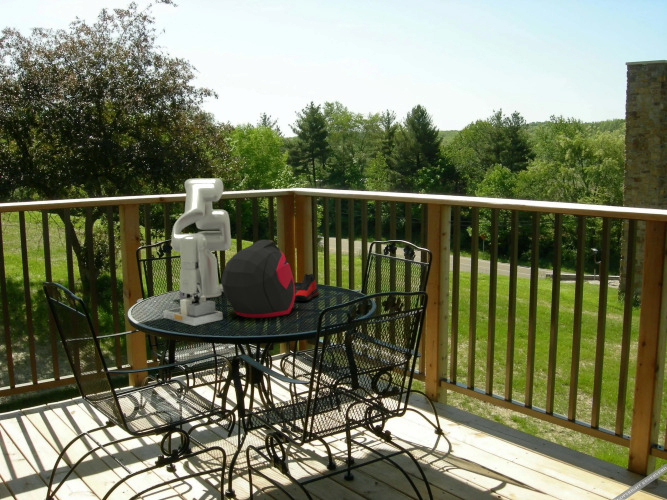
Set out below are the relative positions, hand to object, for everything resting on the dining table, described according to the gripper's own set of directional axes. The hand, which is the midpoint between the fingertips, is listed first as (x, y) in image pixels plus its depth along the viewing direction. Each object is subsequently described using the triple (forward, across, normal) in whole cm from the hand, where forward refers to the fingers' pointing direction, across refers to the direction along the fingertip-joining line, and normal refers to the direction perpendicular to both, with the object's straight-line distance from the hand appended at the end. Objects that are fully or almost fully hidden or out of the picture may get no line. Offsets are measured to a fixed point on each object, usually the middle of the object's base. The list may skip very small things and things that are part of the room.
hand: (192, 308), depth 269 cm
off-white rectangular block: (+2, 0, +1) cm, 3 cm away
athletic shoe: (+4, +9, +58) cm, 58 cm away
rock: (+4, -24, +13) cm, 28 cm away
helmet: (+4, +14, +24) cm, 28 cm away
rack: (+4, 0, 0) cm, 4 cm away
